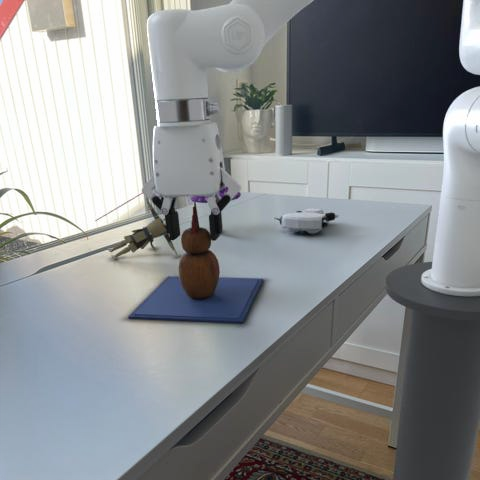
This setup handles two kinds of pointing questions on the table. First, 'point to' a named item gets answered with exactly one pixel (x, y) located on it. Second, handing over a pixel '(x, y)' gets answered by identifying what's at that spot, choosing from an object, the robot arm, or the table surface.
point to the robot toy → (306, 220)
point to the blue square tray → (200, 302)
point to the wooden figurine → (198, 261)
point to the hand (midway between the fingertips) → (195, 237)
